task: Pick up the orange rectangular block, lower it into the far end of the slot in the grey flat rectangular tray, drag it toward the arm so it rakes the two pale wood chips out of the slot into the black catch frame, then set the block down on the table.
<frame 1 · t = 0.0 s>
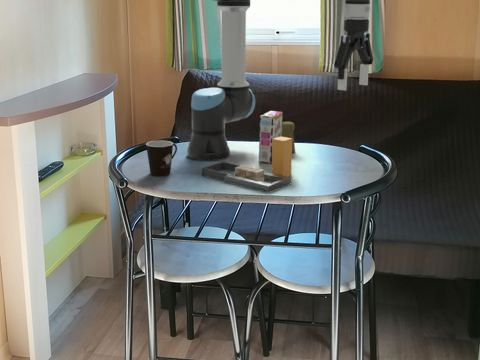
hand: (352, 87, 213), 28 cm above the table, tool pointing down, fingers open, 13 cm apart
candy bar box: (270, 160, 236), on the table
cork: (286, 152, 247), on the table
orange rectangular block: (281, 174, 218), on the table
coffee mug: (164, 173, 219), on the table
catch frame: (224, 174, 218), on the table
chip a: (255, 182, 210), on the table
chip b: (243, 179, 213), on the table
grey flat rectangular tray: (257, 182, 210), on the table
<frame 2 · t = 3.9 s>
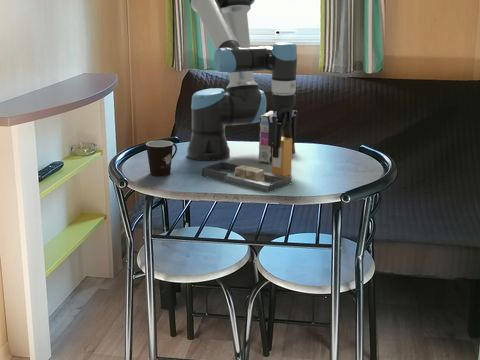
hand: (281, 165, 217), 3 cm above the table, tool pointing down, fingers closed on orange rectangular block, 4 cm apart
orange rectangular block: (281, 174, 218), on the table, touching gripper
everything else where it was.
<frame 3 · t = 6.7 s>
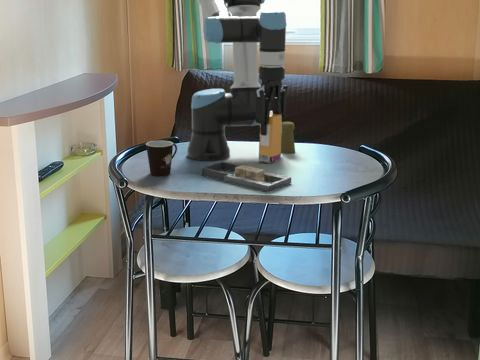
hand: (270, 143, 203), 13 cm above the table, tool pointing down, fingers closed on orange rectangular block, 4 cm apart
orange rectangular block: (270, 154, 204), point 10 cm above the table, touching gripper
everything else where it was.
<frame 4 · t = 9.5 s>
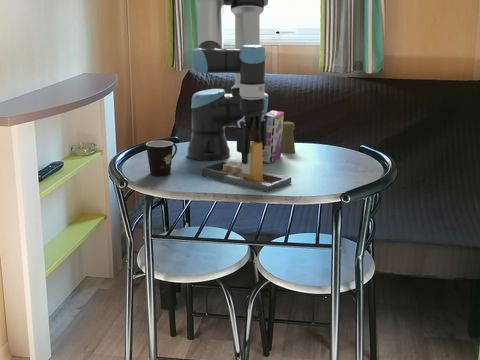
hand: (251, 171, 210), 3 cm above the table, tool pointing down, fingers closed on orange rectangular block, 4 cm apart
candy bar box: (270, 159, 236), on the table, touching arm
orange rectangular block: (252, 181, 211), on the table, touching chip a, gripper
chip a: (241, 178, 213), on the table, touching orange rectangular block
chip b: (231, 176, 216), on the table
everything else where it was.
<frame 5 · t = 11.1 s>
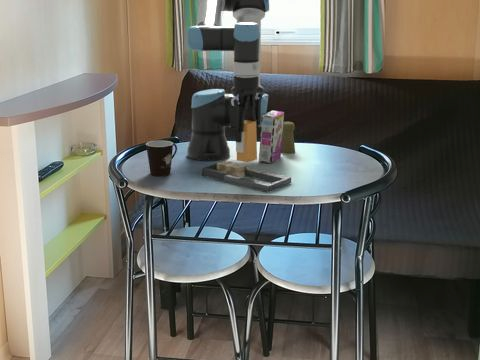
hand: (245, 150, 210), 9 cm above the table, tool pointing down, fingers closed on orange rectangular block, 4 cm apart
orange rectangular block: (246, 159, 211), point 6 cm above the table, touching gripper
chip a: (235, 177, 215), on the table
chip b: (225, 175, 217), on the table
everything else where it was.
when the fingers open (4 cm above the table, at t = 15.3 s): orange rectangular block drops 1 cm, on the table.
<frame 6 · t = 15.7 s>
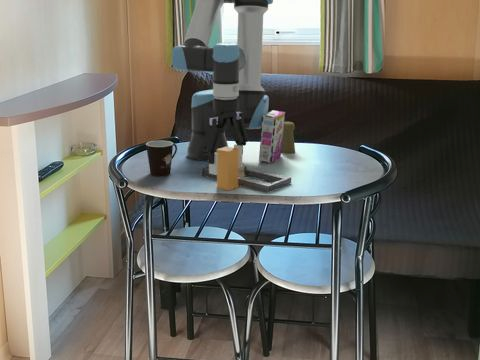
hand: (225, 169, 203), 5 cm above the table, tool pointing down, fingers open, 11 cm apart
orange rectangular block: (227, 187, 204), on the table
everything else where it was.
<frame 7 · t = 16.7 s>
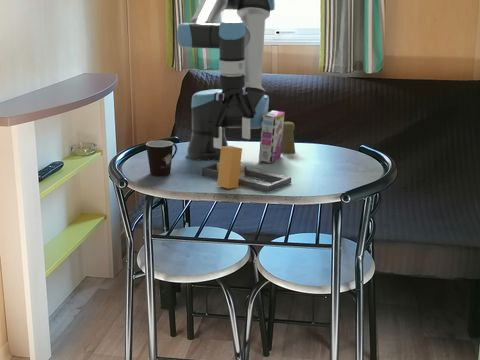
hand: (232, 143, 207), 12 cm above the table, tool pointing down, fingers open, 13 cm apart
candy bar box: (270, 159, 236), on the table
orange rectangular block: (227, 186, 204), on the table, tilted 9°
everything else where it was.
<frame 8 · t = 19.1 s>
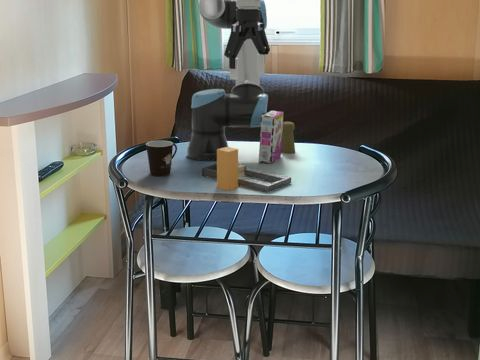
hand: (247, 77, 214), 31 cm above the table, tool pointing down, fingers open, 13 cm apart
candy bar box: (270, 159, 236), on the table, touching arm
orange rectangular block: (227, 187, 204), on the table
everything else where it was.
at the end: chip a inside the target area (3.9 cm from its centre), on the table; chip b inside the target area (0.3 cm from its centre), on the table; orange rectangular block inside the target area (0.8 cm from its centre), on the table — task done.
